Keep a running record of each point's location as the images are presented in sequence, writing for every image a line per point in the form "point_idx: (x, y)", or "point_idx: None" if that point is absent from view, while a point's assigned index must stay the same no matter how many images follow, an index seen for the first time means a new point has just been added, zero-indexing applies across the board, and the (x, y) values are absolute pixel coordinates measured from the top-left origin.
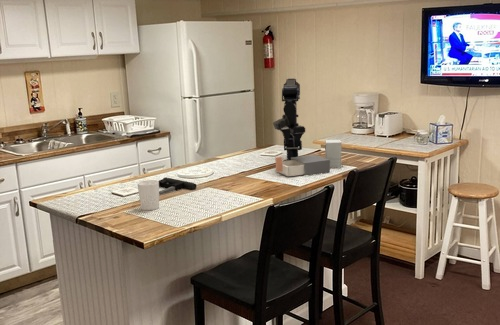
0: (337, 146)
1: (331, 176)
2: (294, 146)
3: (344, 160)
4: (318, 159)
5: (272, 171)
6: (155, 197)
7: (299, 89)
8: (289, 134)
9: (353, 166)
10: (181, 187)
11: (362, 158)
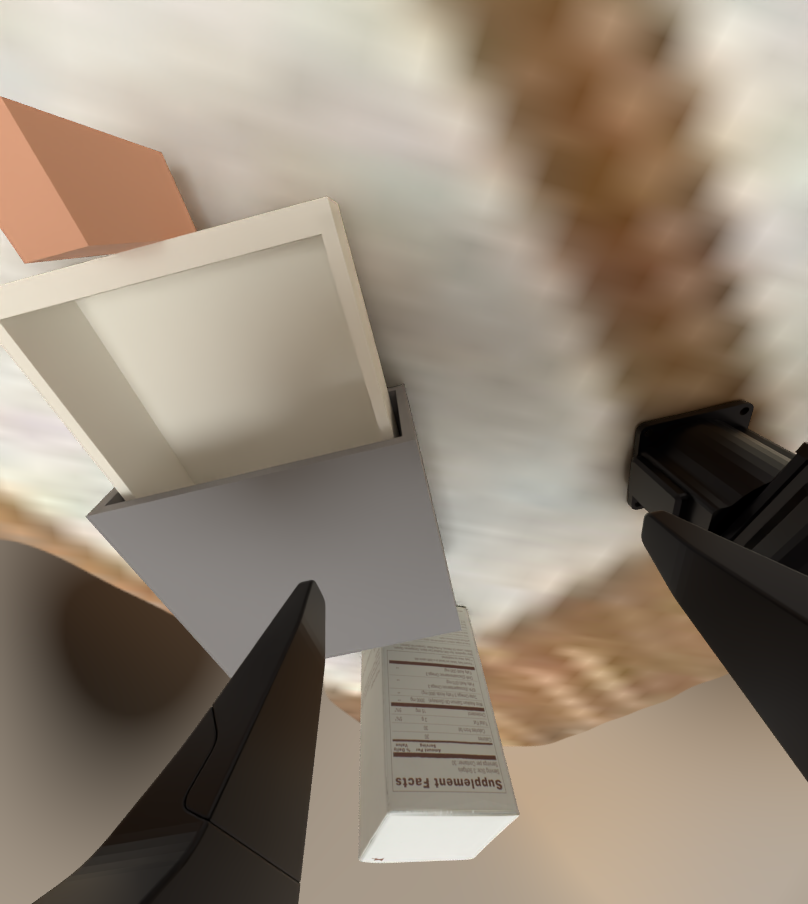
0: (363, 805)
1: None
2: (302, 585)
3: (522, 681)
4: (259, 627)
5: (392, 167)
6: None
7: None
8: (790, 738)
9: None
10: None
11: (521, 729)
